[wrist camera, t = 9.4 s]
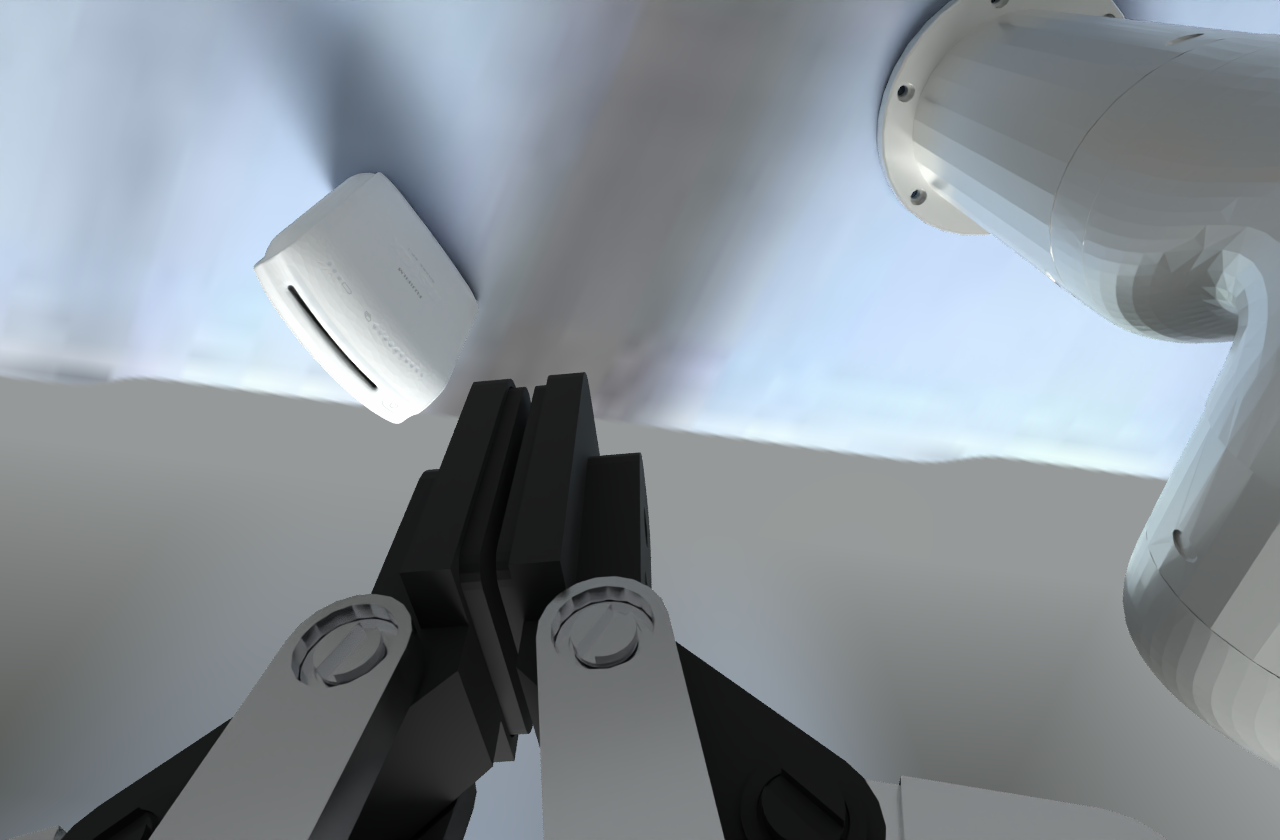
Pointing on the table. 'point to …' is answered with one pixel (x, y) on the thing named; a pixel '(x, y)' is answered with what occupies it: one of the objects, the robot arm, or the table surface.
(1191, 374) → the table surface
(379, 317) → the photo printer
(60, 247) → the table surface
